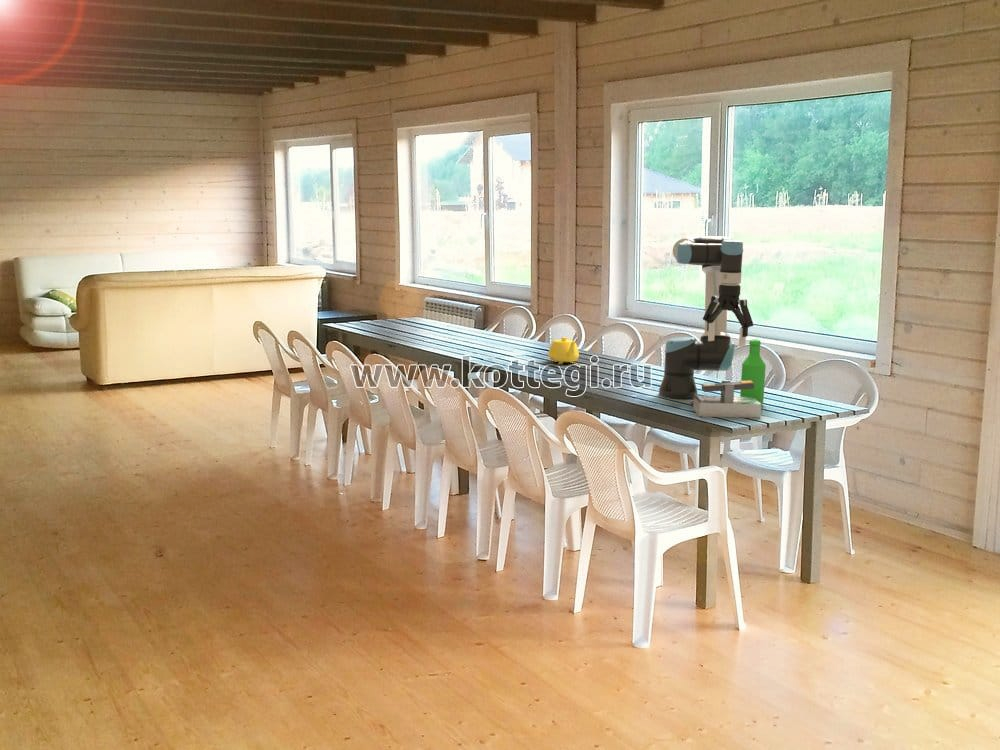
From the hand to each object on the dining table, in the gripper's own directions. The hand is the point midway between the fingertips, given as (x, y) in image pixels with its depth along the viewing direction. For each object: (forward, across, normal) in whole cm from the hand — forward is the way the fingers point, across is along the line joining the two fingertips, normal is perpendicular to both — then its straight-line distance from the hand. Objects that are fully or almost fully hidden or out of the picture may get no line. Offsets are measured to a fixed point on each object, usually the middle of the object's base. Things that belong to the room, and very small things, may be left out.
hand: (726, 343), depth 363 cm
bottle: (+27, -5, +25) cm, 38 cm away
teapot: (+30, -120, +37) cm, 130 cm away
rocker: (+16, -1, +4) cm, 17 cm away
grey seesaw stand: (+26, -1, +3) cm, 27 cm away
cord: (+27, -12, +10) cm, 31 cm away
